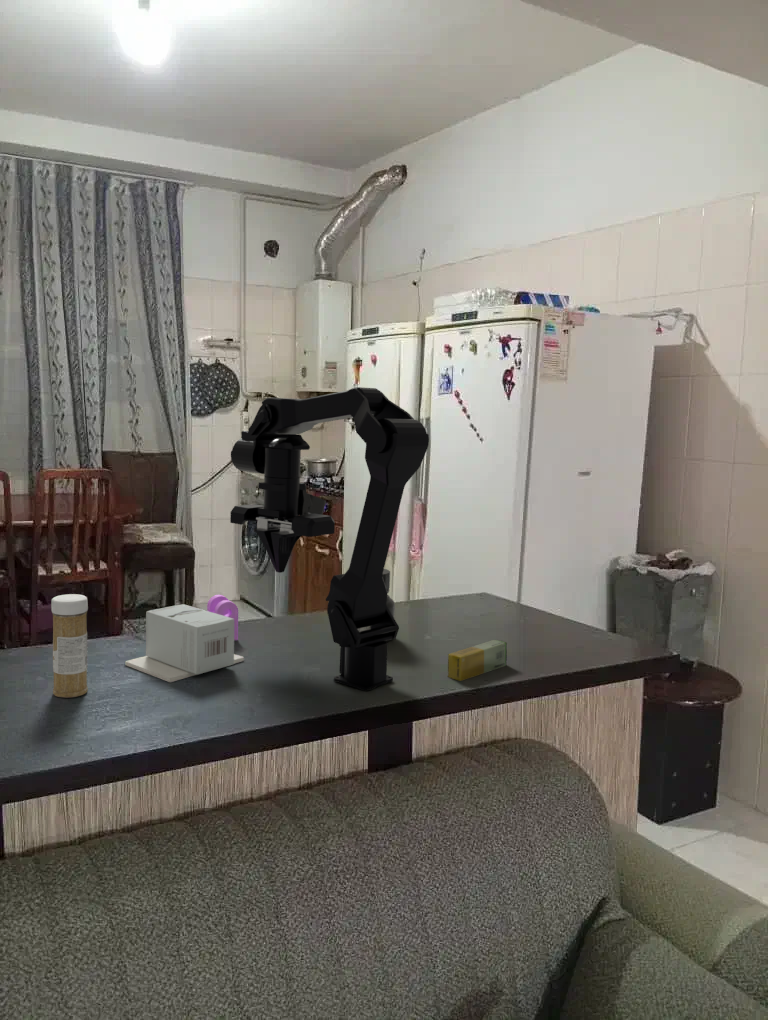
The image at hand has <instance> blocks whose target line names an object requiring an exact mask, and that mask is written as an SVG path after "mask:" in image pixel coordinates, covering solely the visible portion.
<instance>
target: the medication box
mask: <svg viewBox="0 0 768 1020" xmlns="http://www.w3.org/2000/svg"><path fill="white" fill-rule="evenodd" d="M507 645H508V642H507V641H503V640H499V639H492V640H488V641H486V642H482V643H480V644H476V645H472V646H470V647H467V648H464V649H459V650H458V651H457V650H456V651H453V652H450V653H448V654H447V655H448V657H447V660H448V661H447V674H448V675H447V678H450V679H453V680H456V681H459V682H461V681H465V680H467V679H471V678H474V677H476V676H477V677H478V676H479V675H482V674H485V673H488V672H491V671H495V670H497V669H498V670H499V669H501V668H503V667H506V666H508V665H507V664H508V662H507V661H508V649H507V648H508V647H507Z"/></svg>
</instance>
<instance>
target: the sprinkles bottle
mask: <svg viewBox="0 0 768 1020" xmlns="http://www.w3.org/2000/svg"><path fill="white" fill-rule="evenodd" d="M88 603H89V602H88V596H85V595H83V594H79V593H78V594H76V593H73V594H72V593H69V594H68V593H67V594H61V595H60V594H59V595H57V596H54V597H53V598H51V607H50V609H51V613H52V632H53V633H52V671H53V689H52V693H53V695H54V696H55V697H58V698H67V699H68V698H77V697H80V696H83V695H86V693H87V692H88V691H89V690H88V689H89V688H88V684H87V683H88V681H87V680H88V675H87V674H88V673H87V671H88V670H87V669H88V631H87V613H88V610H89V606H88V605H89V604H88Z"/></svg>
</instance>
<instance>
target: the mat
mask: <svg viewBox="0 0 768 1020" xmlns="http://www.w3.org/2000/svg"><path fill="white" fill-rule="evenodd" d="M244 661H245V657H244V656H242V655H239V654H235V653H234V664H238V663H241V662H244ZM124 663H125V666H127V667H130V668H132V669H135V670H137V671H139V672H142V673H145V674H148V675H149V676H153V677H155V678H158V679H161V680H163V681H166V682H168V683H173V682H176V681H180V680H182V679H187V678H189V677H193V676H197V675H196V674H193V673H191V672H188V671H185V670H182V669H180V668H177V667H174V666H172V665H169V664H166V663H164V662H161V661H158V660H156V659H153V658H150V657H147V656H146V655H145V656H140V657H136V658H133V659H129V660H126V661H125V662H124ZM234 664H233V665H234Z"/></svg>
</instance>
